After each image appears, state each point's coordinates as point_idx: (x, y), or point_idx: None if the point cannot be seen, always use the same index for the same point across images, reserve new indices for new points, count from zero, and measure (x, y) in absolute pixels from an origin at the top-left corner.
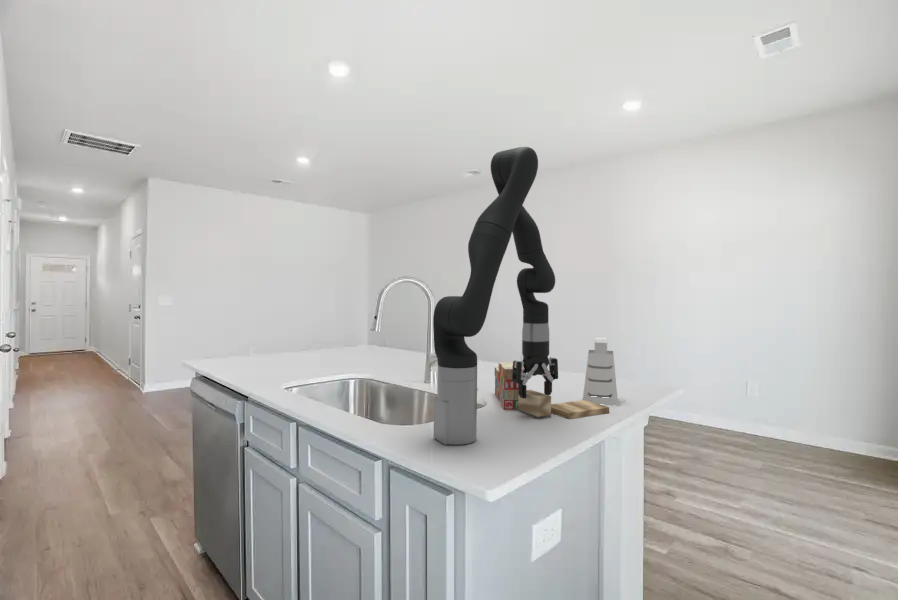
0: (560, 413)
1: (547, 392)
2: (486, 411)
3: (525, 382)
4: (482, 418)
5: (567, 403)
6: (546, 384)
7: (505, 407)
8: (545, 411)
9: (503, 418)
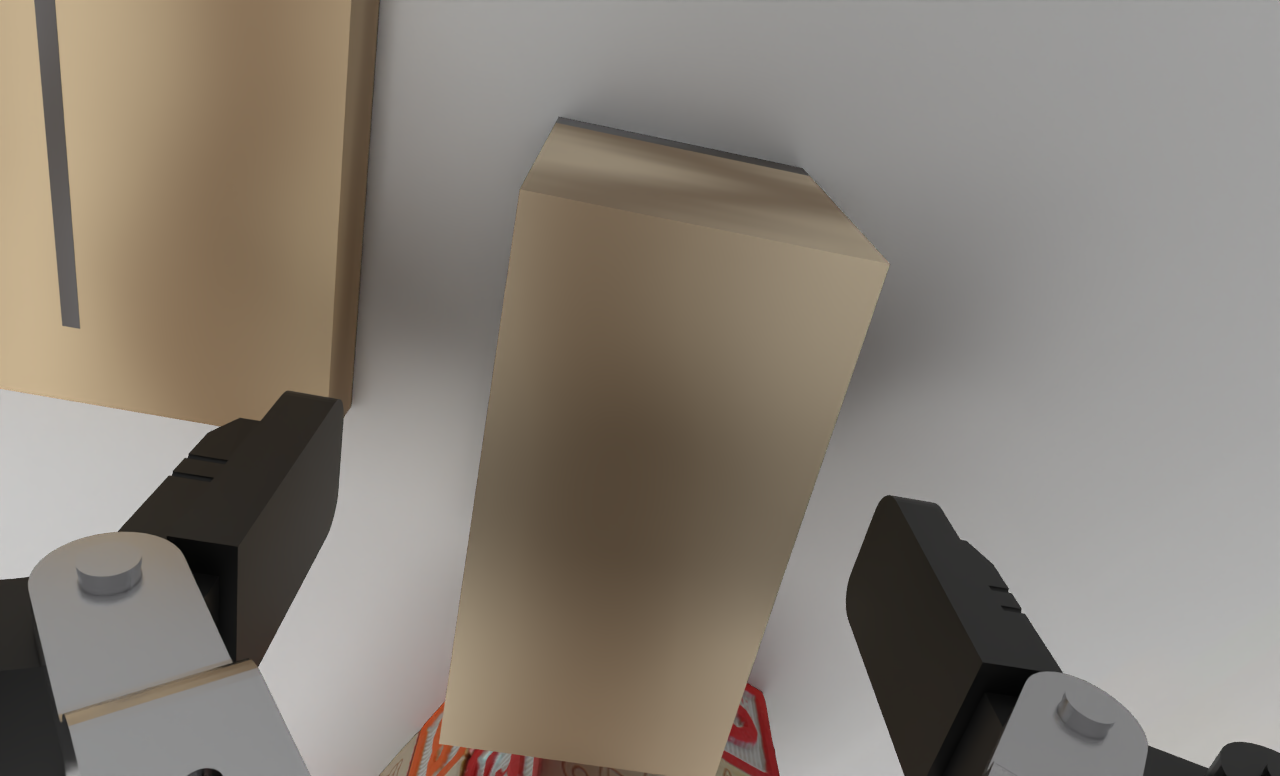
0: (362, 74)
1: (324, 459)
2: None
3: (1059, 717)
4: (1262, 588)
5: None
6: (264, 591)
7: (749, 706)
8: (669, 156)
9: (1099, 460)
